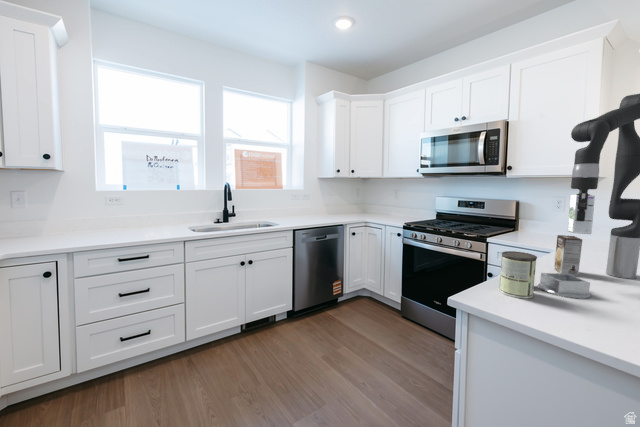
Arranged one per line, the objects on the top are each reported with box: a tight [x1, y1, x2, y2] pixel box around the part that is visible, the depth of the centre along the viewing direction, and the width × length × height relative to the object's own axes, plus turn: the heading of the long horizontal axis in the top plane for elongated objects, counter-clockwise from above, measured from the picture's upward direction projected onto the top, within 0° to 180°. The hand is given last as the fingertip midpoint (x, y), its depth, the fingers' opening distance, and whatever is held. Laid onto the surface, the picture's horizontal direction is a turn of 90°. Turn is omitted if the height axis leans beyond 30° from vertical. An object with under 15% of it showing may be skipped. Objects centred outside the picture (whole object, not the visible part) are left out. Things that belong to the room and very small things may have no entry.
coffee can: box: [499, 250, 538, 299], centre depth 106 cm, size 10×10×14 cm
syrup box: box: [567, 194, 596, 235], centre depth 114 cm, size 6×6×14 cm
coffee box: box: [553, 234, 583, 277], centre depth 132 cm, size 9×6×16 cm
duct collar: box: [537, 272, 591, 299], centre depth 110 cm, size 15×15×5 cm
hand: (580, 220), depth 114 cm, fingers closed on syrup box, 6 cm apart
